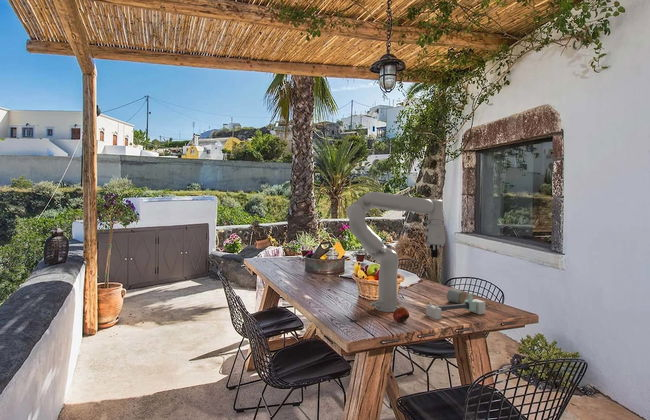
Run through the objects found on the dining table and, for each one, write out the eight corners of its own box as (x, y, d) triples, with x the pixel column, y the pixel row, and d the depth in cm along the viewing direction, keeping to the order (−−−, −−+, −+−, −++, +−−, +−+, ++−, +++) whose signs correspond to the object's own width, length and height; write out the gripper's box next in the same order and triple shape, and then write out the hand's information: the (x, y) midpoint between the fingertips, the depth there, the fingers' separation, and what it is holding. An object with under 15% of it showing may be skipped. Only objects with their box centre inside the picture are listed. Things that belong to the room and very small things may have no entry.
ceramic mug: (459, 305, 213) (459, 291, 213) (446, 302, 220) (446, 288, 219) (469, 302, 220) (470, 289, 220) (457, 299, 226) (457, 286, 226)
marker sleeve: (469, 311, 196) (470, 294, 195) (464, 309, 200) (464, 292, 199) (476, 310, 197) (476, 294, 197) (470, 308, 201) (470, 292, 201)
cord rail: (436, 319, 186) (436, 306, 186) (426, 314, 194) (426, 302, 194) (486, 314, 197) (486, 301, 197) (475, 309, 204) (475, 298, 204)
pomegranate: (411, 328, 180) (403, 310, 188) (414, 318, 176) (406, 300, 183) (396, 330, 179) (389, 312, 186) (398, 321, 174) (391, 303, 182)
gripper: (427, 223, 200) (426, 258, 201) (451, 223, 206) (450, 257, 206) (419, 222, 207) (418, 256, 208) (442, 222, 213) (441, 255, 213)
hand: (434, 257), depth 207 cm, fingers closed
